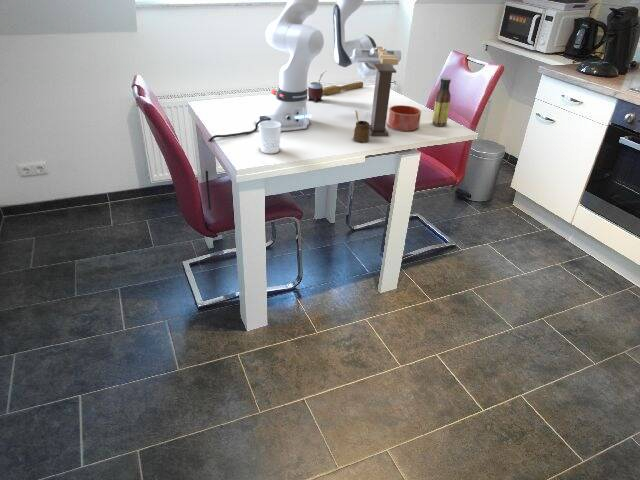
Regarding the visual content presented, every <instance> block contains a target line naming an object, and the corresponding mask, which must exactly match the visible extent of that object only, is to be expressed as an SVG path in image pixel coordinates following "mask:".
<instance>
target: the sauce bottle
mask: <svg viewBox="0 0 640 480" xmlns="http://www.w3.org/2000/svg"><path fill="white" fill-rule="evenodd" d="M451 81H452V80H451V78H450V77H441V78H440V85H439V86H440V87H439V89H438V91H437V92H436V94H435V99H434V101H435V102H434V108H433V115H432V125H433V126H436V127H445V126H446V125H447V123H448V119H449V118H448V117H449V111H450V105H451V96H452V95H451V91H450V84H451Z"/></svg>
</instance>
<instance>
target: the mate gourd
mask: <svg viewBox="0 0 640 480" xmlns="http://www.w3.org/2000/svg"><path fill="white" fill-rule="evenodd" d="M326 72H327V70H325V71H323V72H322V73H320V75H319V79H318V82H317V81H314V82H313V81H312V82H310V83H309V84H308V86H307V90H308V94H307V97H308V101H311V102H312V101H313V102H314V103H317V102H318V101H319V102H321V101H322V97H323V95H324V94H323V88H324V87H323V85H322V83H321V79H322V77H323V75H324V74H325V73H326ZM322 94H323V95H322Z"/></svg>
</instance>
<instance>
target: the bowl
mask: <svg viewBox="0 0 640 480" xmlns="http://www.w3.org/2000/svg"><path fill="white" fill-rule="evenodd" d="M421 116H422V110H421V109H419V108H417V107H416V106H415V107H414V106H411V105H403V104H402V105H401V104H400V105H399V104H398V105H397V104H396V105H392V106H390V107H388V114H387V125H388V127H389V128H391V129H393V130H397V131H400V132H413V131H415V130H417V129H419V127H420V122H421Z"/></svg>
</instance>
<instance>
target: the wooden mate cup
mask: <svg viewBox="0 0 640 480" xmlns="http://www.w3.org/2000/svg"><path fill="white" fill-rule="evenodd" d="M368 116H369V119H368V121H367V120H366V118H365V117H367V114H365V115H364V118H363V120H359V113H358V110H356V109H355V117H356V123H355V126H354V130H353V140H354V141H355V142H358V143H366V142H368V141H369V139H370V132H369V125H370V122H371V117H372V116H371V112H368Z"/></svg>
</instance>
